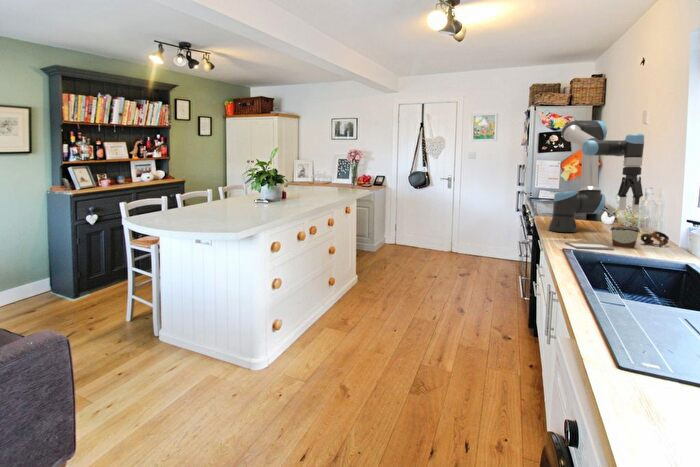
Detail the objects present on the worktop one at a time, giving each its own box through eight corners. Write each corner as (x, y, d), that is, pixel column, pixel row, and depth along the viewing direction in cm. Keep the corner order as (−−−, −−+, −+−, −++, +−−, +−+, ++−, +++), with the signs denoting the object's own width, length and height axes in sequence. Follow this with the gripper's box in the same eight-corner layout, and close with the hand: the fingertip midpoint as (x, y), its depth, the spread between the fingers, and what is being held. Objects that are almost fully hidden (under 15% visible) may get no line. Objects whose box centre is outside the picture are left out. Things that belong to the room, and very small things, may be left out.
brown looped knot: (656, 244, 223) (665, 232, 218) (664, 255, 215) (674, 242, 210) (633, 239, 223) (642, 226, 218) (640, 249, 215) (650, 236, 211)
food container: (640, 248, 209) (642, 227, 207) (638, 249, 204) (640, 228, 203) (611, 245, 217) (613, 225, 216) (608, 246, 212) (610, 226, 211)
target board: (564, 243, 220) (564, 242, 220) (598, 244, 217) (598, 243, 217) (577, 248, 202) (577, 247, 202) (613, 250, 199) (614, 248, 199)
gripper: (612, 167, 219) (608, 209, 221) (636, 165, 194) (631, 212, 197) (628, 168, 218) (624, 209, 220) (654, 165, 193) (649, 212, 195)
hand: (628, 211), depth 208 cm, fingers open, 13 cm apart
